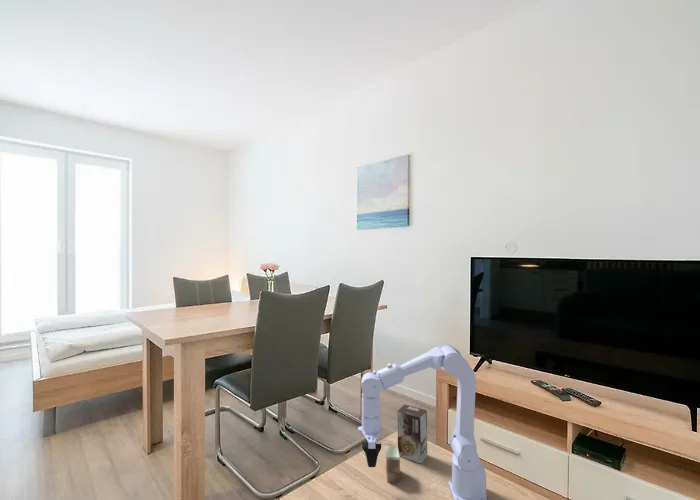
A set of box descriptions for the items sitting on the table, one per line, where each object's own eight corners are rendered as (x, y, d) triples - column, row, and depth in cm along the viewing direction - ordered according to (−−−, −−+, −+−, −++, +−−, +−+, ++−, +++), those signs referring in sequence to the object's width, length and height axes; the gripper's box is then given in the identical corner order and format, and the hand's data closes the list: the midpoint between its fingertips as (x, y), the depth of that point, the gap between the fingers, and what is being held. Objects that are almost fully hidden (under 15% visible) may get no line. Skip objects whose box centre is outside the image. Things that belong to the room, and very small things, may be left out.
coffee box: (428, 454, 122) (427, 409, 122) (421, 464, 117) (420, 417, 116) (404, 446, 127) (404, 403, 127) (396, 455, 122) (396, 410, 121)
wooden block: (398, 469, 114) (397, 446, 114) (400, 482, 108) (399, 457, 108) (386, 469, 114) (385, 446, 114) (387, 482, 108) (387, 457, 108)
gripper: (358, 402, 111) (358, 444, 112) (357, 426, 97) (358, 474, 97) (379, 403, 111) (380, 444, 111) (382, 426, 97) (383, 474, 97)
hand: (371, 458), depth 104 cm, fingers open, 7 cm apart
